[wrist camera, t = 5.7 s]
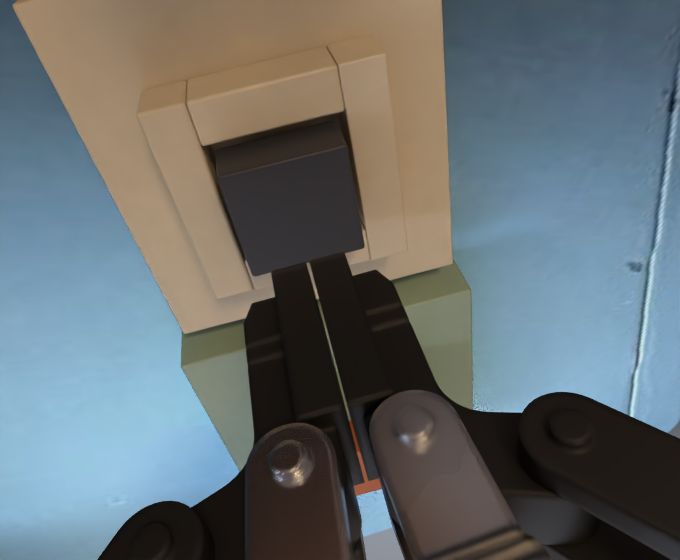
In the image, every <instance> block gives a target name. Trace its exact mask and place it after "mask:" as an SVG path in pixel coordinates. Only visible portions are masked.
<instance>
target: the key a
mask: <svg viewBox="0 0 680 560" xmlns="http://www.w3.org/2000/svg"><path fill="white" fill-rule="evenodd" d="M216 171H217V181H218V184H219V186H220V189H221V192H222V194H223V197H224V200H225V203H226V205H227V208H228V211H229V214H230V216H231V219H232V222H233V225H234V227H235V230H236V233H237V235H238V238H239V241H240V244H241V246H242V249H243V252H244V255H245V257H246V260H247V263H248V266H249V268H250V271H251V274H252V275H253V276H259V275H263V274H267V273H271V271H274V270H277V269H281V268H285V267H289V266H292V265H296V264H300V263H304V262H306V263H310V262H309V261H310V260H314V259H318V258H322V257H325V256H329V255H333V254H336V253H340V252H344V253H348V252H352V251H356V250H360V249H363V248H364V246H365V244H364V238H363V232H362V227H361V221H360V215H359V210H358V204H357V198H356V193H355V187H354V181H353V175H352V170H351V164H350V158H349V153H348V147H347V144H346V142H345V140H344V138H343V136H342V134H341V131H340V129H339V127H338V125H337V123H336V121H334V120H332V121H328V122H324V123H320V124H316V125H312V126H308V127H304V128H300V129H296V130H292V131H288V132H284V133H280V134H276V135H272V136H268V137H264V138H260V139H256V140H252V141H248V142H244V143H240V144H236V145H232V146H228V147H224V148H220V149H217V150H216Z"/></svg>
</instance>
